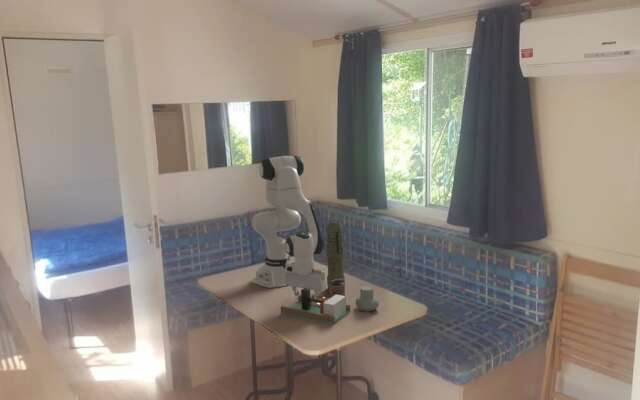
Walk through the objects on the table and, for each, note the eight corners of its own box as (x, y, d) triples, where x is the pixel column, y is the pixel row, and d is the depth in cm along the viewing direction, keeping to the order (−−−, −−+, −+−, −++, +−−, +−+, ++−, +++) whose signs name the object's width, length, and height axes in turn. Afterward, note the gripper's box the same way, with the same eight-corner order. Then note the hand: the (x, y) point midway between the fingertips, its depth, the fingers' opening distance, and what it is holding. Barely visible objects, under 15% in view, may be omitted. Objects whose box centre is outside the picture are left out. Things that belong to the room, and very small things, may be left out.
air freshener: (353, 306, 237) (353, 285, 235) (370, 303, 240) (369, 283, 238) (364, 315, 227) (363, 293, 225) (380, 311, 230) (380, 290, 228)
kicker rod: (300, 309, 232) (299, 290, 230) (306, 305, 236) (305, 287, 234) (323, 314, 226) (322, 294, 224) (328, 310, 230) (328, 291, 229)
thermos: (337, 284, 268) (335, 218, 261) (349, 290, 258) (348, 222, 251) (322, 287, 263) (320, 221, 257) (335, 294, 253) (333, 225, 247)
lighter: (330, 301, 244) (329, 281, 242) (328, 299, 247) (327, 279, 245) (346, 299, 246) (345, 279, 244) (344, 296, 249) (343, 277, 248)
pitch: (280, 314, 231) (280, 297, 229) (299, 302, 244) (299, 286, 243) (333, 325, 217) (333, 307, 216) (350, 311, 231) (350, 294, 230)
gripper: (328, 268, 227) (328, 298, 230) (289, 262, 238) (290, 291, 240) (321, 273, 222) (322, 303, 225) (281, 266, 232) (283, 295, 235)
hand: (305, 296), depth 232 cm, fingers open, 8 cm apart
